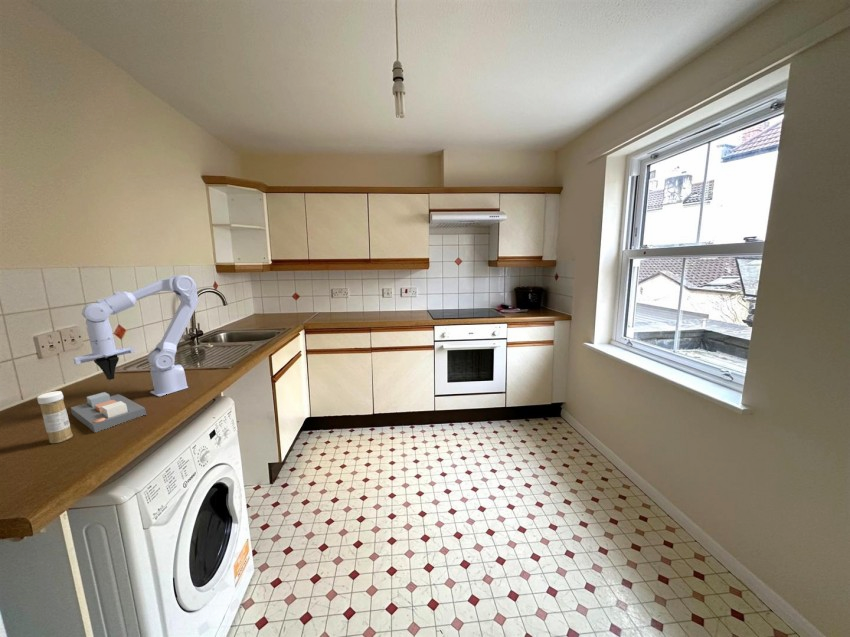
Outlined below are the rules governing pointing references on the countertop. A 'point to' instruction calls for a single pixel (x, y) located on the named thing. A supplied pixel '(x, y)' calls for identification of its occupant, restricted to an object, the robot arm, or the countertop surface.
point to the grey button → (98, 399)
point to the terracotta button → (99, 406)
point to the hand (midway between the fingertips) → (110, 378)
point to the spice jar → (55, 416)
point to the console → (100, 422)
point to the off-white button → (114, 409)
